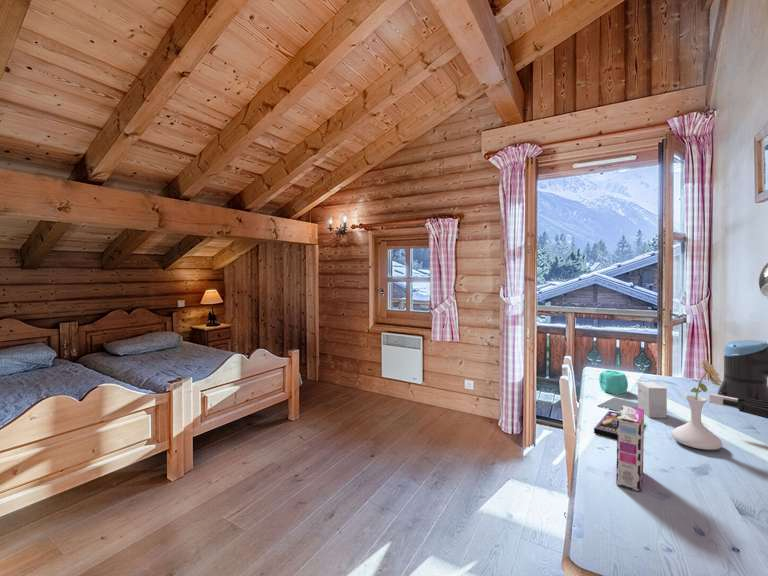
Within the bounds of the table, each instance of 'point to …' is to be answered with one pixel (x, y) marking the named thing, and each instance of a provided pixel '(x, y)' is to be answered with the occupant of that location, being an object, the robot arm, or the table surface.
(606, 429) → the vhs tape
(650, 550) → the table surface
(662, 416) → the small box
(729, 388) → the robot arm
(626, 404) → the grey mat
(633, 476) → the candy bar box
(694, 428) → the flower in vase
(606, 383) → the decorative dice
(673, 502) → the table surface
